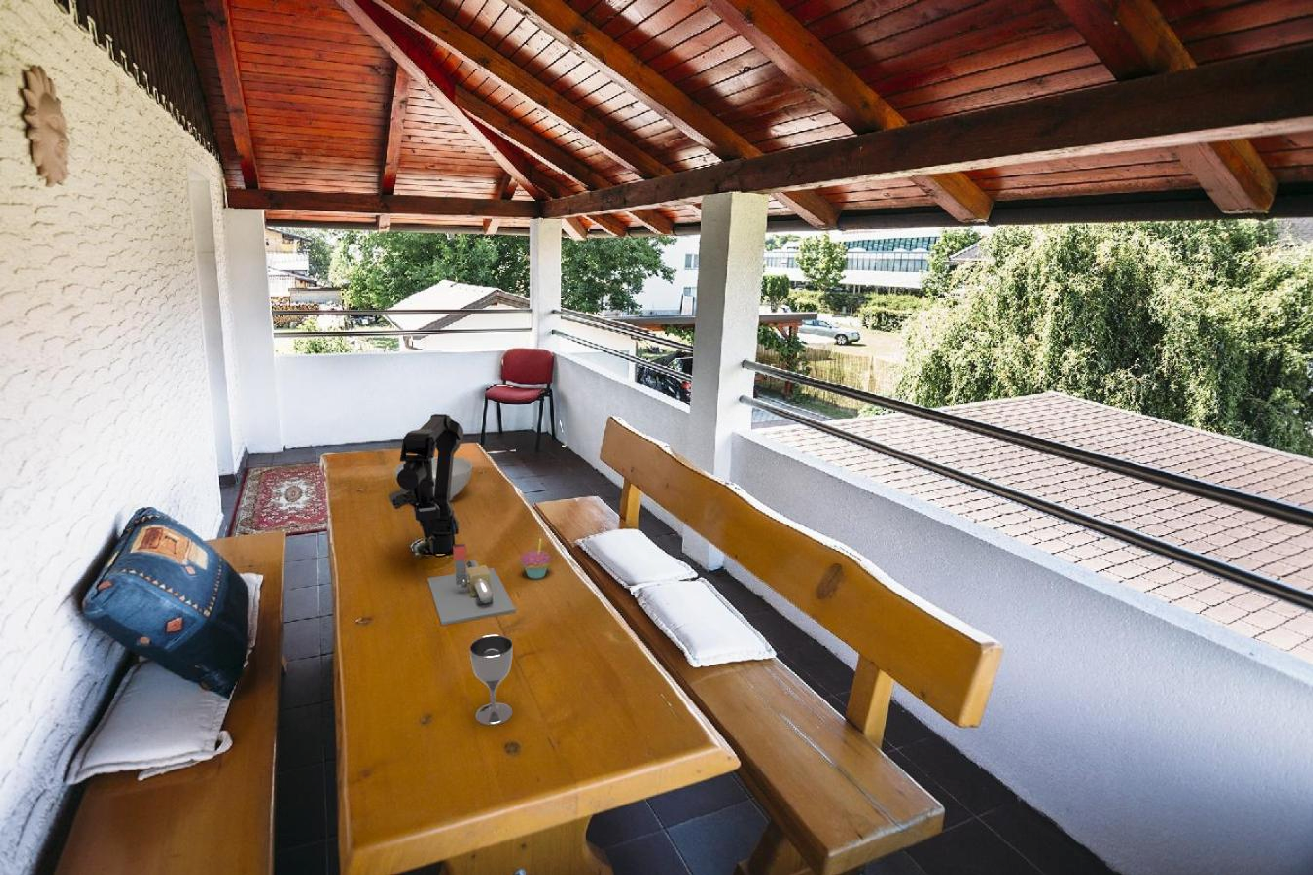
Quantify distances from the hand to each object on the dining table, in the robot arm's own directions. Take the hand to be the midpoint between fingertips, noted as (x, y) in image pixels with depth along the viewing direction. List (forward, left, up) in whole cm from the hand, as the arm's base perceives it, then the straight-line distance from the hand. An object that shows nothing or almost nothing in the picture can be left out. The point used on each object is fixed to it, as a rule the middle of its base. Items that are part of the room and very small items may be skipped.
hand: (425, 531), depth 198 cm
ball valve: (-6, +20, -13) cm, 24 cm away
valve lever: (-1, +19, -10) cm, 21 cm away
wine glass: (+15, +68, -13) cm, 71 cm away
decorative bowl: (-26, -57, -13) cm, 64 cm away
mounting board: (-3, +19, -12) cm, 23 cm away
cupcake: (-23, +19, -13) cm, 33 cm away
